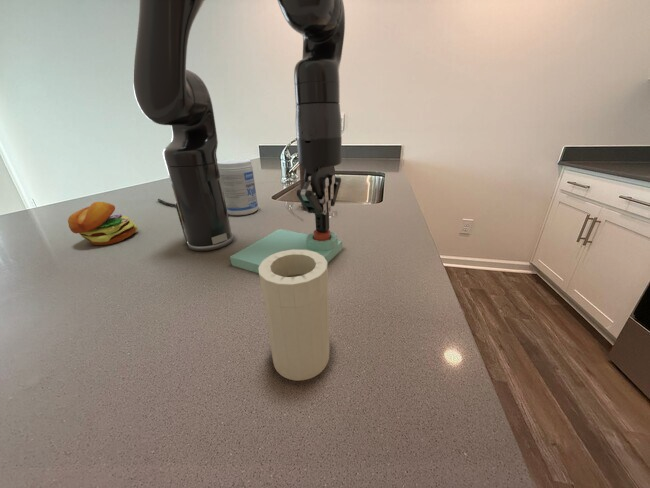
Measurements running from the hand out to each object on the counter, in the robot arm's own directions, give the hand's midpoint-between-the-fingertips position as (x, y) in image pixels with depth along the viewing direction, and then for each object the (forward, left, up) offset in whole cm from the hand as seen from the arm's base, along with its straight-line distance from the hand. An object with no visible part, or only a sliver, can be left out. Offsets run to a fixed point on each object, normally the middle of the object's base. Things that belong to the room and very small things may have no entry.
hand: (322, 230), depth 50 cm
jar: (+10, -24, -5) cm, 26 cm away
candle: (-17, +25, -5) cm, 31 cm away
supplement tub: (-35, +13, -5) cm, 38 cm away
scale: (-5, -5, -5) cm, 8 cm away
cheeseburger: (-49, -16, -5) cm, 52 cm away
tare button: (0, 0, -2) cm, 2 cm away
